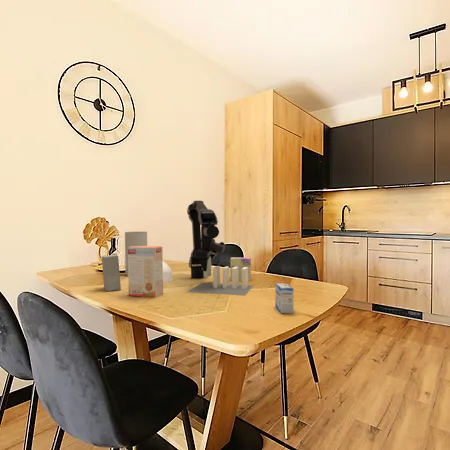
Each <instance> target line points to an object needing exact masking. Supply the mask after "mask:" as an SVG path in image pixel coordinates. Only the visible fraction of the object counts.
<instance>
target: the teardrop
mask: <svg viewBox="0 0 450 450" xmlns="http://www.w3.org/2000/svg"><path fill="white" fill-rule="evenodd" d="M165 282H167V283H171V282H173V271H172V269H171V267H170V266H169V265H168V264H167V262H166V261H164V260H163V284H166V283H165Z"/></svg>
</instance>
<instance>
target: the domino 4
mask: <svg viewBox="0 0 450 450" xmlns="http://www.w3.org/2000/svg"><path fill="white" fill-rule="evenodd" d="M239 282H240V281H239V274H238V267H234V268H232V281H231V284H232V288H233V289H236V288H237V287H238V286H239Z"/></svg>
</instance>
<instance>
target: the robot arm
mask: <svg viewBox="0 0 450 450" xmlns="http://www.w3.org/2000/svg"><path fill="white" fill-rule="evenodd" d="M186 212H187V216H188V219H189V221H190V222H191V228H192V229H191V230H192V247H193V248H192V250H191V252H190V257H189V261H188V267H189V268H190V277H189V279H190V280H191V279H195V280H202V279H204V271H207V264H208V259H209V258H210V257H211V267H212V265H213V261H214V259H215V257H216V256H217V255H218V254H223V253H224V252H225V249H226V245H225V242H223V241H221V242H216V238H217V237H218V236H219V234H220V230H219V227H218V223H219V219H218V217H217V215H216V213H215V211H214V210H212V209H210V208H208V207H207V206H206V204H205V203H204V201H203V200H193V202H192V203H191V204H188V206H187V211H186Z"/></svg>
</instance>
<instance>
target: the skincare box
mask: <svg viewBox="0 0 450 450" xmlns="http://www.w3.org/2000/svg"><path fill="white" fill-rule="evenodd" d="M101 264H102V276H103V277H102V278H103V289H104V290H105V292H112V291H120V290H121V289H122V286H121V275H120V274H121V273H120V260H119V255H117V254H110V255H102V256H101Z"/></svg>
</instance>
